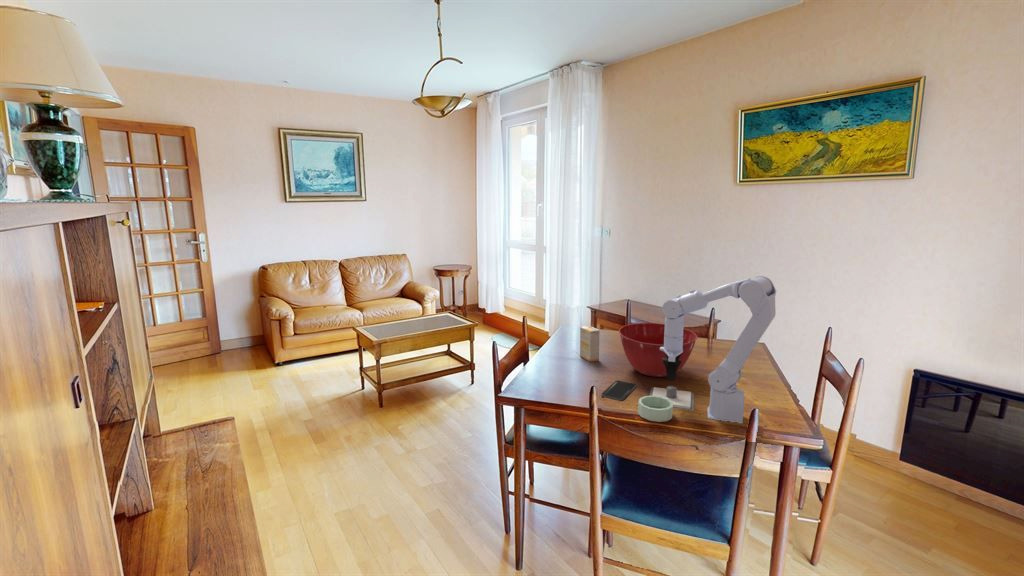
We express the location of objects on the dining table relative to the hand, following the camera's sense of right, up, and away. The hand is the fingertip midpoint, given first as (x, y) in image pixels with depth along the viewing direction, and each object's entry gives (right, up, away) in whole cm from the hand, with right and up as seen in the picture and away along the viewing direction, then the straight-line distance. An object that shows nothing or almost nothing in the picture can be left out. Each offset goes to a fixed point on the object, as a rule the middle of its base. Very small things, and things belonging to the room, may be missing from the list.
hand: (671, 375), depth 153 cm
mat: (0, -8, +2) cm, 8 cm away
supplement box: (-20, -1, +42) cm, 47 cm away
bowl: (-8, -10, -9) cm, 16 cm away
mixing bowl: (+3, -4, +27) cm, 27 cm away
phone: (-15, -8, +9) cm, 19 cm away
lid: (0, -8, +2) cm, 8 cm away
